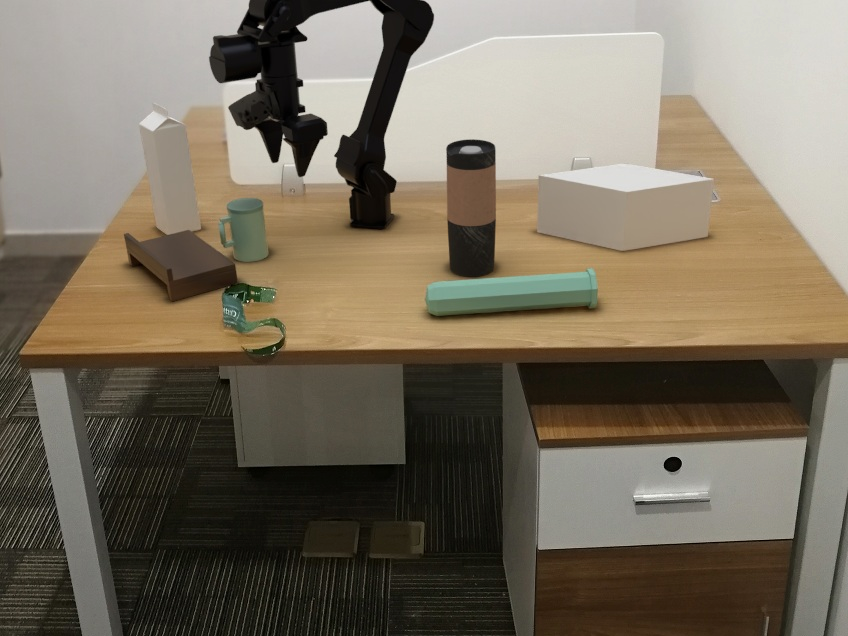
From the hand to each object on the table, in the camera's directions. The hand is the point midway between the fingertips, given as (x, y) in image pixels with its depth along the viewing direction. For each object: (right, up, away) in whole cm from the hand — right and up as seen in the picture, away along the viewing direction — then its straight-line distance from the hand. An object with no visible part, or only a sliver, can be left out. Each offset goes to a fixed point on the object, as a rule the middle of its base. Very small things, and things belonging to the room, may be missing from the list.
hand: (288, 169), depth 168 cm
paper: (+56, -10, +7) cm, 58 cm away
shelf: (-16, -18, -4) cm, 24 cm away
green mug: (-7, -14, +2) cm, 15 cm away
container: (+35, -24, -17) cm, 46 cm away
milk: (-22, -8, +13) cm, 27 cm away
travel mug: (+30, -17, -4) cm, 35 cm away
